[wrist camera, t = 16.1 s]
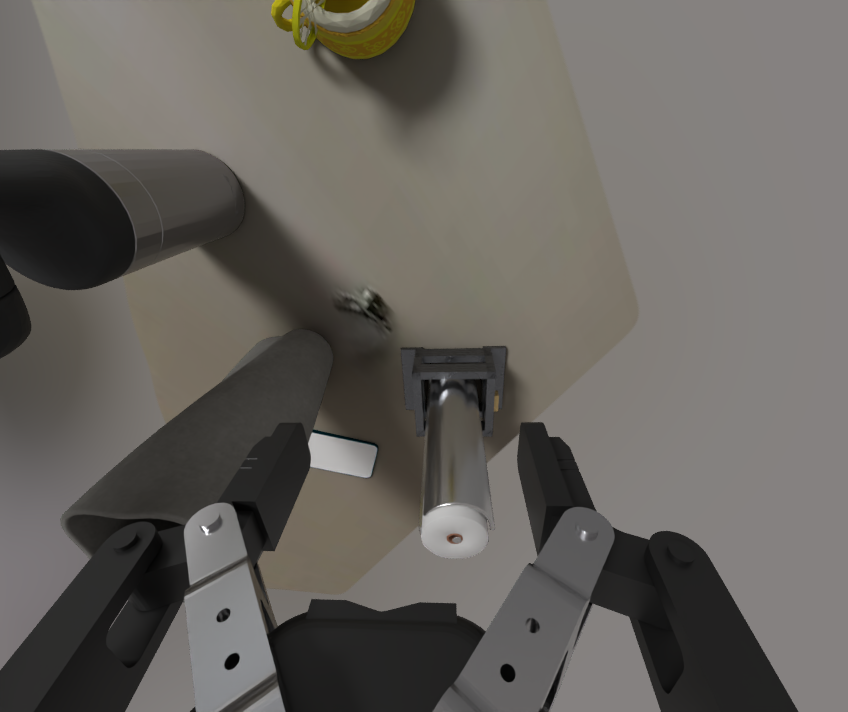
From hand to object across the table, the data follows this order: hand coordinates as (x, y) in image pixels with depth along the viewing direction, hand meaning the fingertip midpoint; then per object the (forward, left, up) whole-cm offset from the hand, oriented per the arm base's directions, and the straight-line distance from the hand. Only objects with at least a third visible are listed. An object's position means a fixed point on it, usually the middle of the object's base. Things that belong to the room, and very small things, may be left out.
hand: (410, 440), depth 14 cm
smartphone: (-19, -33, -35) cm, 51 cm away
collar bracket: (+2, -19, -34) cm, 39 cm away
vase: (-19, -15, -34) cm, 42 cm away
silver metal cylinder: (+2, -19, -34) cm, 39 cm away
